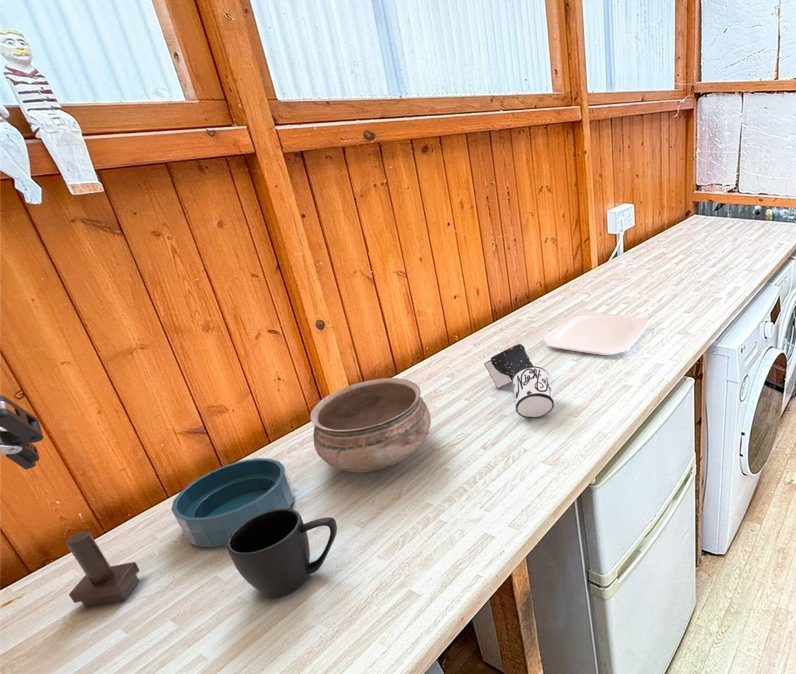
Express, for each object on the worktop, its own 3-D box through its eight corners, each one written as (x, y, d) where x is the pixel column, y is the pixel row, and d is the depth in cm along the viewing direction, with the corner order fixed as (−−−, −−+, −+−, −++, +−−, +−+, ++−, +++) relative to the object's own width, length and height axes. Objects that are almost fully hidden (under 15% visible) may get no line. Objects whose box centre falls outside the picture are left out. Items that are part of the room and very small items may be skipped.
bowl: (167, 559, 76) (150, 529, 73) (213, 494, 88) (200, 466, 86) (277, 539, 79) (264, 509, 77) (306, 479, 92) (296, 452, 89)
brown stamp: (79, 611, 68) (40, 553, 64) (100, 586, 72) (63, 530, 67) (127, 602, 69) (91, 544, 65) (145, 578, 73) (112, 522, 69)
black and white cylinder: (568, 415, 109) (564, 374, 105) (523, 431, 104) (517, 388, 100) (523, 368, 128) (518, 332, 124) (483, 380, 123) (477, 342, 119)
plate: (623, 362, 131) (623, 355, 130) (536, 350, 138) (535, 342, 137) (652, 325, 152) (652, 318, 151) (576, 316, 159) (575, 309, 158)
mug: (343, 590, 71) (324, 538, 67) (240, 615, 67) (214, 562, 63) (354, 545, 78) (338, 496, 74) (262, 565, 75) (239, 515, 71)
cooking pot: (470, 444, 100) (460, 390, 95) (392, 509, 85) (375, 448, 79) (375, 417, 109) (361, 366, 104) (288, 472, 93) (267, 415, 88)
